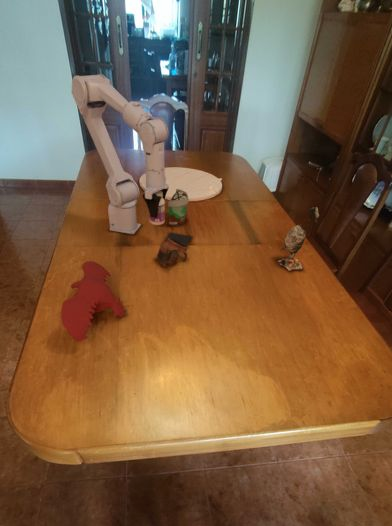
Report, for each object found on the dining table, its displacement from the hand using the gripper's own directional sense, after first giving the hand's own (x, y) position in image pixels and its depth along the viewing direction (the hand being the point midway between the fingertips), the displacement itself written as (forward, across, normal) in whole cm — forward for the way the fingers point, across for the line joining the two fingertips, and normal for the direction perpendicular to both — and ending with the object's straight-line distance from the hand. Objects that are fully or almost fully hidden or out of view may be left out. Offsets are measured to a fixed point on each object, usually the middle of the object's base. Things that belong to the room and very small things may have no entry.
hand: (156, 213), depth 105 cm
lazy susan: (+10, +56, +6) cm, 58 cm away
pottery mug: (+11, -11, -8) cm, 17 cm away
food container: (+10, +18, -3) cm, 21 cm away
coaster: (+10, +4, -6) cm, 13 cm away
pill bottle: (+3, 0, 0) cm, 3 cm away
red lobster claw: (+11, -41, +2) cm, 43 cm away
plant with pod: (+11, +2, -46) cm, 48 cm away
